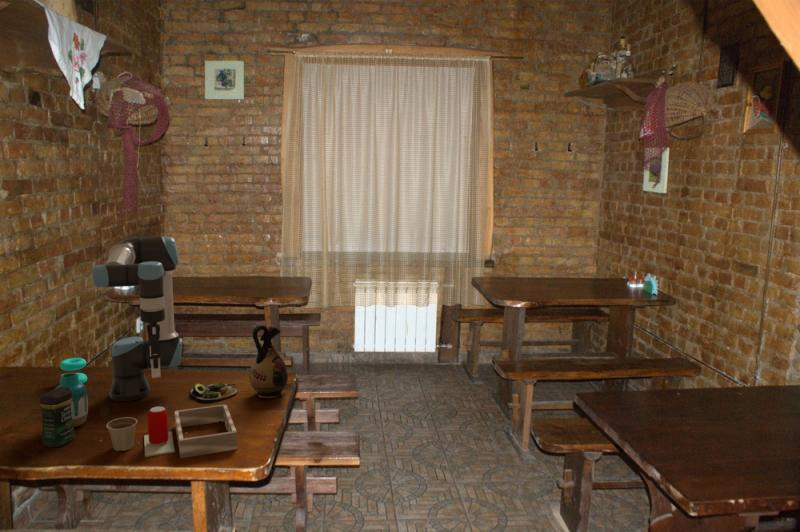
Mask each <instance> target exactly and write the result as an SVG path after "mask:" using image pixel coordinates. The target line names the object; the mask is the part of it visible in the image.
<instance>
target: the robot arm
mask: <svg viewBox="0 0 800 532" xmlns="http://www.w3.org/2000/svg"><path fill="white" fill-rule="evenodd" d="M107 258H108V259H107V261H106V262H105V264H103V263H102V264H97V265H94V266H93V268H92V283H93V285H94V286H95V288H105V289H107V288H119V287H120V288H121V287H122V288H123V287H138V290H139V291H138V292H139V299H137V303H138V304H139V309H140V311H139V313H140V316H139V317H140V321H141V322H142V323H146V324H147V323H148V325H146V332H147V334H148V335H147V337H148V340H144V339H143V337H142V336H131V337H125V338H121V339H118V340H117V341H115V342H114V343H113V345H112V346H111V347H112V348H111V357H112V358H111V359H112V374H113V377H112V378H113V379H112V383H111V386H110V389H109V398H110V399H111V400H112V401H114V402H115V401H116V402H131V401H137V400H140V399H143V398H146V397H148V396H149V395H150V393H151V386H150V384H149V382H148V379H147V376H146V373H145V370H151V379H156V378H161V376H162V375H161V372H162V371H161V369H164V368H166V369H169V368H174V367H175V368H176V367H178V366H180V364H181V361H182V358H181V357H182V348H183V338H181V337H179V332H177V331H176V330H175V314H174V313H175V311H174V309H175V308H174V294H173V293H174V292H173V291H174V290H173V286H174V284H173V273H174V272H175V271H176V270H177V269H176V268H177V266H179V265H180V258H179V253H178V247H177V242H176V240H175V238H174V237H172V236H162V235H161V236H134V237H133V236H132V237H129V238H125V239H123V240H120V241H119V242H116V243H115V244H114V245H112V246H111V248H110V249H109V251H108V255H107Z"/></svg>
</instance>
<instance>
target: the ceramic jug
mask: <svg viewBox="0 0 800 532" xmlns="http://www.w3.org/2000/svg"><path fill="white" fill-rule="evenodd" d="M261 331H263V333H262V334H261V337H260V339H259V337H258V333H259V332H261ZM279 334H281V330H279V328H277V327H275V326H273V327H272V326H269V328H268V327H267V326H266V325H263V324H257V325H255V327H254V328H253V329H252V339H253V342H254V345H255V347H256V350H257V354H256V356H255V358H254V359H253V362H252V364H251V366H250V370H249V382H250V386H251V388H253V390H254V391H255V392H256V394H257V395H258V398H262V399H275V398H279V397H282V391H284V389H285V388H286V385H287V383H288V380H289V372H288V369H287V365H286V363H285V361H284V358H282V356H281V354H280V353H279V352H278V351H277V350H276V348H275V347H274V346H273V342H272V339H274V338H275V337H276V336H278V335H279ZM260 341H262V345H261V343H260Z"/></svg>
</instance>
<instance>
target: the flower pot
mask: <svg viewBox="0 0 800 532" xmlns="http://www.w3.org/2000/svg"><path fill="white" fill-rule="evenodd" d="M137 424H138V419H136V418H134V417H127V416H125V417H119V418H115V419H112V420H110V421H109V422H107V423H106V426H105V427H106V429H107V431H108V432H109V435H110V439H111V443H112V447H113V448H112V449H113V450H114V451H116V452H120V451H122V452H123V451H128V450H130V449H132V448H133V447H134V445H135V433H136V428H137Z"/></svg>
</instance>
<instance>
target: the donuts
mask: <svg viewBox="0 0 800 532" xmlns="http://www.w3.org/2000/svg"><path fill="white" fill-rule="evenodd" d="M86 365H87V361H86V360H85V359H84V358H82V357H72V358H66V359H64V360H62V361H60V363H59V367H60V369H61V370H63V371H66V372H73V371H74V372H75V371H77V370H81V369H83V368H85V367H86ZM76 373H77V375H78V381H79V382H80V383H83V384H84V383H86V382H87V381H88V377H87V375H86V374H85V373H82V372H76Z"/></svg>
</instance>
